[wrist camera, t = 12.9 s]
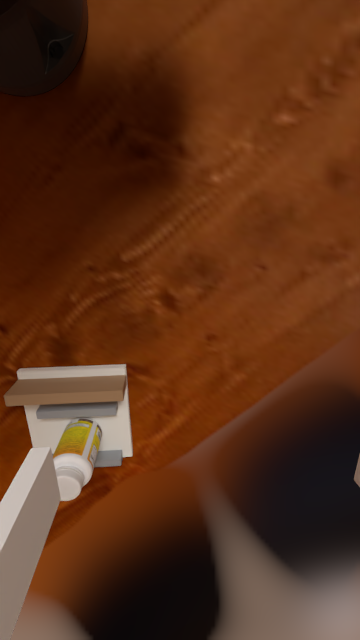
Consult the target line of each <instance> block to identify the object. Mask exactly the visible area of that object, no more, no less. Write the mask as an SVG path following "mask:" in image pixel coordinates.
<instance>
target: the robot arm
mask: <svg viewBox="0 0 360 640" xmlns="http://www.w3.org/2000/svg"><path fill="white" fill-rule="evenodd" d="M87 26H88V9H87V0H0V92H3V93H6V94H11V95H16V96H32V95H38V94H42V93H45V92H47V91H49V90H51V89H53V88H55V87H56V86H58V85H59V84H60V83H62V82H63V81H64V80H65V79H66V78H67V77H68V76H69V75H70V73H71V72H72V71H73V69H74V68H75V66H76V64H77V62H78V61H79V58H80V56H81V54H82V51H83V48H84V44H85V40H86V35H87ZM354 480H355V481H356V483H357V484H358V485H359V487H360V455H359V459H358V464H357V468H356V472H355V476H354ZM60 499H61V497H60V491H59V486H58V481H57V476H56V471H55V466H54V461H53V455H52V450H51V447H44V448H31V449H30V451H29V453H28V455H27V457H26V458H25V460H24V462H23V464H22V465H21V467H20V469H19V471H18V472H17V474H16V476H15V478H14V479H13V481H12V483H11V485H10V487H9V488H8V490H7V492H6V494H5V495H4V497H3V499H2V501H1V502H0V640H10V639H11V636H12V633H13V631H14V628H15V625H16V622H17V619H18V617H19V614H20V611H21V608H22V605H23V603H24V600H25V597H26V594H27V591H28V588H29V586H30V583H31V580H32V578H33V575H34V572H35V569H36V566H37V563H38V561H39V558H40V555H41V552H42V550H43V547H44V544H45V541H46V538H47V536H48V533H49V530H50V527H51V524H52V522H53V519H54V516H55V513H56V511H57V508H58V505H59V502H60Z"/></svg>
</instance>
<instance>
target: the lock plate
mask: <svg viewBox="0 0 360 640" xmlns="http://www.w3.org/2000/svg"><path fill="white" fill-rule="evenodd" d="M17 376H18V380H17V381H16V383H15V384H14V385H13V386H12V387H11V388H10V389H9V390H8V391H7V393H6V394H5V395H4V399H5V403H6V406H24V408H25V413H26V417H27V422H28V426H29V431H30V436H31V440H32V445H33V448H44V447H51V450H52V455H53V454H54V452H55V450H56V448H57V446H58V443H59V441H60V439H61V437H62V434H63V432H64V430H65V428H66V426H67V424H68V423H69V422H70V421H72V420H73V419H76V418H79V417H87V418H91V419H93V420H95V421H96V422H97V423H98V424H99V425H100V427H101V429H102V438H101V442H100V446H99V450H98V454H97V457H96V461H95V465H94V467H107V466H121V464H122V457H132V456H133V446H132V434H131V421H130V409H129V396H128V384H127V371H126V364H119V365H94V366H69V367H44V368H20V369H19V370H18V371H17Z"/></svg>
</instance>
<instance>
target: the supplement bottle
mask: <svg viewBox="0 0 360 640" xmlns="http://www.w3.org/2000/svg"><path fill="white" fill-rule="evenodd" d="M101 438H102V429H101V427H100V425H99V424H98V423H97V422H96V421H95V420H93V419H91V418H87V417H79V418H76V419H73V420H72V421H70V422H69V423H68V424H67V426H66V428H65V430H64V432H63V434H62V437H61V439H60V441H59V443H58V446H57V448H56V450H55V452H54V454H53V461H54V466H55V471H56V476H57V481H58V486H59V491H60V497H61V499H60V501H69V500H72V499H74V498H76V497H77V496H78V495H79V494H80V492H81V489H82V487H83V486H84V485H86V484H87V483H88V482H89V480H90V479H91V476H92V473H93V469H94V465H95V461H96V457H97V454H98V450H99V446H100V442H101Z"/></svg>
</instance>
